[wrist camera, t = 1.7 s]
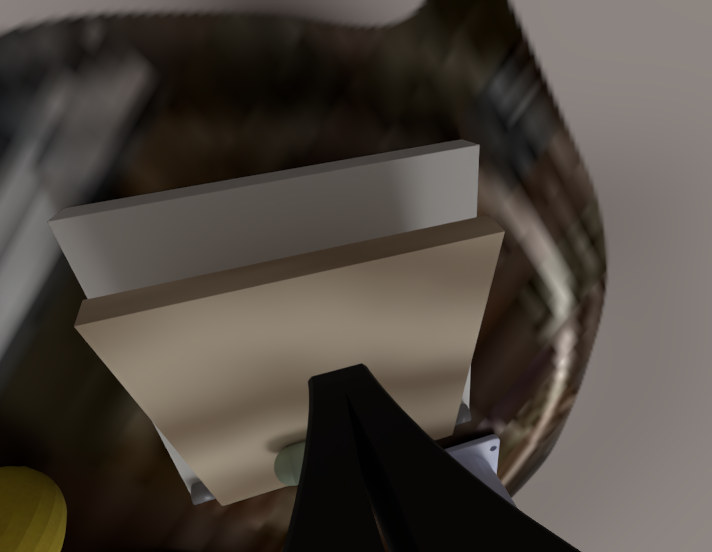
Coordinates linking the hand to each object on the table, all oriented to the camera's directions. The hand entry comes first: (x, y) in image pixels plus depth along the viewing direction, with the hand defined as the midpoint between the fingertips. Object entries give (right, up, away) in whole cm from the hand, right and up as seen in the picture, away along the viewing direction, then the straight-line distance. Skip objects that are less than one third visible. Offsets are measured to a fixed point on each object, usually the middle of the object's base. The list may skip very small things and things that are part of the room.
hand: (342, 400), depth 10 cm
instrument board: (-1, -1, +7) cm, 8 cm away
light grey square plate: (-2, 0, +10) cm, 10 cm away
